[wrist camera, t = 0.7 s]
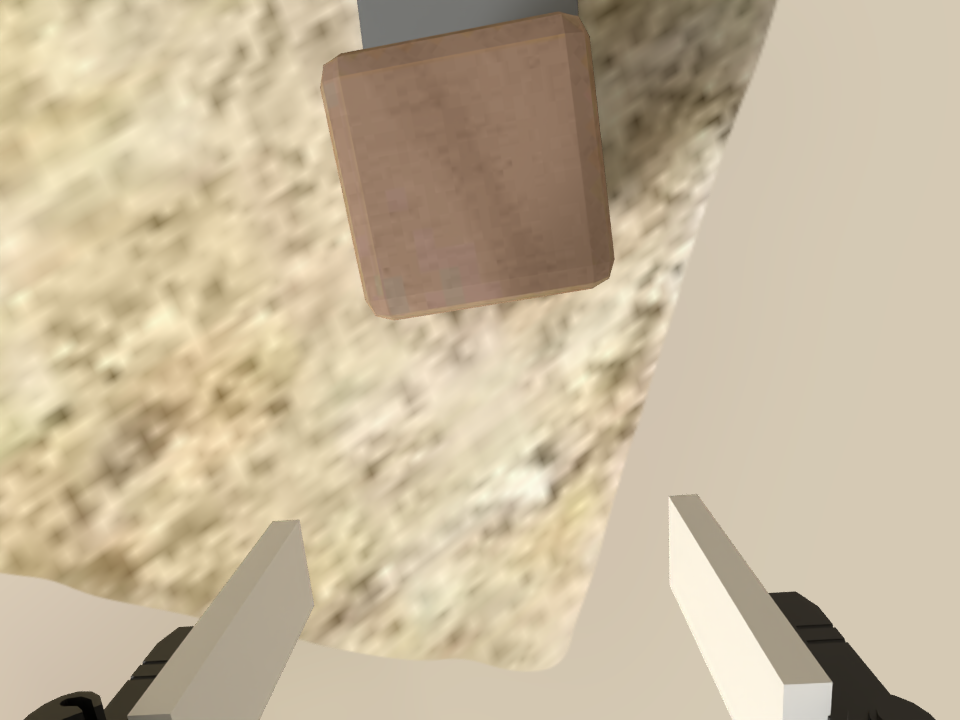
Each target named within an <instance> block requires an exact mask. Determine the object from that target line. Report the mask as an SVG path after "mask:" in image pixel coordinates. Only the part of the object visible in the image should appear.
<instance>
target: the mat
mask: <svg viewBox="0 0 960 720" xmlns="http://www.w3.org/2000/svg"><path fill="white" fill-rule="evenodd" d="M357 4H358V12H359V20H360V28H361V36H362V44H363V49H367V48H372V47H377V46H383V45H388V44H393V43H398V42H403V41H408V40H414V39H419V38H424V37H429V36H434V35H439V34H444V33H450V32H455V31H460V30H465V29H470V28H475V27H481V26H486V25H491V24H496V23H501V22H506V21H511V20H517V19H522V18H527V17H532V16H537V15H542V14H548V13H553V12H562V13H566V14H570V15H575V16H578V0H357Z"/></svg>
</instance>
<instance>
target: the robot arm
mask: <svg viewBox="0 0 960 720" xmlns="http://www.w3.org/2000/svg"><path fill="white" fill-rule="evenodd" d="M669 553H670V554H669V555H670V556H669V558H670V587H671V589H672V591H673V593H674V595H675V597H676V600H677V602H678V604H679V606H680V608H681V611H682V612H683V615H684V617H685V619H686V621H687V623H688V625H689V628H690V630H691V632H692V634H693V636H694V638H695V641H696V643H697V645H698V647H699V649H700V651H701V654H702V655H703V658H704V660H705V662H706V664H707V666H708V669H709V671H710V673H711V675H712V677H713V679H714V681H715V684H716V686H717V688H718V690H719V692H720V694H721V697H722V699H723V701H724V703H725V705H726V707H727V709H728V712H729V714H730V716H731V718H732V720H935V719H934V718H933V717H932V716H931V715H930V714H929V713H928V712H926V711H925V710H923V709H922V708H920V707H919V706H917V705H915V704H914V703H912V702H909V701H907V700H904V699H902V698H899V697H897V696H895V695H890V693H889V692H888V691H887V690H886V688H885V687H884V686H883V685H882V684H881V682H880V681H879V680H878V679H877V678H876V676H875V675H874V674H873V673H872V671H871V670H870V669H869V668H868V667H867V665H866V664H865V663H864V662H863V661H862V659H861V658H860V657H859V656H858V655H857V653H856V652H855V651H854V650H853V648H852V647H851V646H850V645H849V643H847V642H845V639H844V637H843V636H842V635H841V634H840V633H839V632H838V630H837V629H836V628H833V625H832V623H831V622H830V620H829V619H828V618H827V617H826V615H825V614H824V613H823V612H822V611H821V609H820V608H819V607H818V606H817V605H815V604H814V603H812V602H811V601H809V600H808V599H806V598H805V597H803V596H802V595H800V594H798V593H797V592H780V593H768V592H767V591H766V589H765V588H764V586H763V585H762V584H761V582H760V581H759V579H758V578H757V577H756V575H755V574H754V572H753V571H752V570H751V568H750V567H749V566H748V564H747V563H746V561H745V560H744V559H743V557H742V556H741V554H740V553H739V552H738V550H737V549H736V547H735V546H734V545H733V544H732V542H731V540H730V539H729V538H728V536H727V535H726V534H725V532H724V531H723V530H722V528H721V527H720V525H719V524H718V522H717V521H716V520H715V518H714V517H713V515H712V514H711V513H710V511H709V510H708V509H707V507H706V506H705V504H704V503H703V502H702V500H701V499H700V497H699V496H698V495H697V494H694V495H677V496H669ZM313 607H314V601H313V595H312V590H311V584H310V578H309V572H308V567H307V561H306V555H305V549H304V544H303V538H302V532H301V526H300V521H299V520H286V521H273V522H272V523H271V524H270V526H269V527H268V528H267V530H266V531H265V532H264V534H263V535H262V536H261V538H260V539H259V540H258V542H257V543H256V544H255V546H254V547H253V548H252V550H251V551H250V552H249V554H248V555H247V556H246V558H245V559H244V560H243V562H242V563H241V564H240V566H239V567H238V568H237V570H236V571H235V572H234V574H233V575H232V576H231V578H230V579H229V580H228V582H227V583H226V584H225V586H224V587H223V588H222V590H221V591H220V592H219V594H218V595H217V596H216V598H215V599H214V600H213V602H212V603H211V604H210V606H209V607H208V608H207V610H206V611H205V612H204V614H203V615H202V616H201V618H200V619H199V620H198V622H197V623H196V624H195V626H192V627H191V626H190V627H179V628H177V629H176V630H174V631H173V632H172V633H171V634H169V635H168V636H167V637H165V638H164V639H163V640H162V641H160V642H159V643H158V644H157V645H156V646H155V647H154V649H153V650H152V651H151V652H150V653H149V655H148V656H147V657H146V658H145V660H144V661H143V665H140V666H139V667H138V668H137V670H136V671H135V672H134V673H133V674H132V676H131V679H130V680H128V681H127V682H126V683H125V684H124V686H123V687H122V688H121V690H120V691H119V692H118V693H117V694H116V696H115V697H114V698H113V699H112V701H111V702H110V703H109V704H108V706H107V707H106V708H105V709H103V705H102V702H101V698H100V696H99V695H97V694H95V693H93V692H75V693H71V694H67V695H64V696H61V697H59V698H57V699H54V700H52V701H50V702H48V703H46V704H44V705H43V706H41V707H40V708H38V709H37V710H35V711H34V712H32V713H31V714H29V715H28V716H27V717H26V718H25V719H24V720H260V718H261V716H262V713H263V711H264V709H265V707H266V705H267V703H268V701H269V699H270V697H271V695H272V692H273V691H274V688H275V686H276V684H277V682H278V680H279V678H280V676H281V673H282V672H283V670H284V668H285V665H286V663H287V661H288V659H289V657H290V655H291V653H292V651H293V649H294V646H295V645H296V642H297V640H298V638H299V636H300V634H301V632H302V630H303V628H304V626H305V624H306V622H307V619H308V617H309V615H310V613H311V611H312V609H313Z"/></svg>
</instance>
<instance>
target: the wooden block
mask: <svg viewBox="0 0 960 720" xmlns="http://www.w3.org/2000/svg"><path fill="white" fill-rule="evenodd" d="M320 89H321V94H322V99H323V103H324V108H325V113H326V117H327V122H328V127H329V132H330V136H331V141H332V146H333V150H334V155H335V160H336V165H337V169H338V174H339V179H340V183H341V188H342V193H343V198H344V202H345V207H346V212H347V216H348V221H349V226H350V230H351V235H352V240H353V245H354V249H355V254H356V259H357V263H358V268H359V273H360V278H361V282H362V287H363V292H364V296H365V300H366V302H367V303H368V305H369V306H370V308H371V309H372V311H373V312H374V314H375V315H376V316H378V317H382V318H387V319H391V320H399V319H406V318H412V317H418V316H424V315H430V314H437V313H443V312H449V311H455V310H462V309H468V308H474V307H480V306H486V305H493V304H499V303H505V302H511V301H518V300H524V299H530V298H536V297H542V296H549V295H555V294H561V293H567V292H573V291H580V290H586V289H592V288H594V287H595V286H597V285H599V284H600V283H602V282H604V281H605V280H607V279H609V277H610V273H611V270H612V266H613V263H614V250H613V241H612V232H611V223H610V215H609V206H608V197H607V188H606V179H605V170H604V161H603V152H602V143H601V134H600V125H599V116H598V107H597V99H596V90H595V81H594V72H593V63H592V54H591V45H590V36H589V35H588V33H587V31H586V29H585V27H584V25H583V23H582V21H581V20H580V18H579V16H575V15H570V14H566V13H562V12H553V13H548V14H542V15H537V16H532V17H527V18H522V19H517V20H511V21H506V22H501V23H496V24H491V25H486V26H481V27H475V28H470V29H465V30H460V31H455V32H450V33H444V34H439V35H434V36H429V37H424V38H419V39H414V40H408V41H403V42H398V43H393V44H388V45H383V46H377V47H372V48H367V49H362V50H357V51H352V52H347V53H341V54H339V55H338V56H337V57H335V58H334V59H332V60H331V61H329V62H328V63H326V64H324V65H323V73H322V80H321V86H320Z"/></svg>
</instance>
